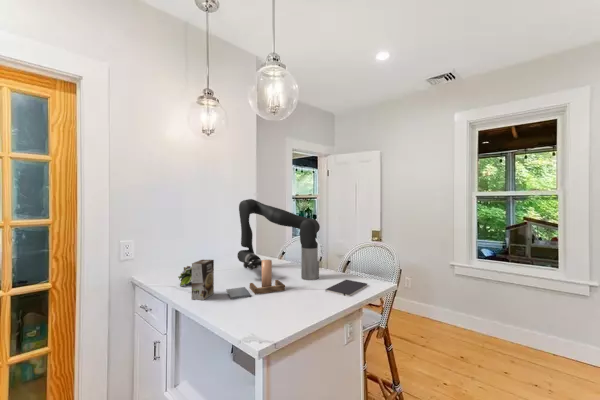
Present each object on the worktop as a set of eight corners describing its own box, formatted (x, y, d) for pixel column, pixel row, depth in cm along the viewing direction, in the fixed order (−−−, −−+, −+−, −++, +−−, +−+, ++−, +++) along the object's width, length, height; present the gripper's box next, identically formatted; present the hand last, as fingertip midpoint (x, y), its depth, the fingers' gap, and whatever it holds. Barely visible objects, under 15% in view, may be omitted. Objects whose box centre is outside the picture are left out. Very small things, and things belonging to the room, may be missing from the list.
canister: (269, 286, 146) (269, 259, 146) (273, 289, 141) (273, 261, 141) (260, 287, 144) (260, 260, 144) (263, 290, 139) (263, 262, 139)
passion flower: (186, 292, 153) (193, 271, 160) (202, 291, 149) (208, 269, 156) (171, 285, 145) (179, 263, 152) (186, 283, 141) (194, 261, 148)
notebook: (346, 282, 156) (325, 292, 139) (346, 279, 156) (325, 289, 139) (368, 286, 148) (349, 297, 131) (368, 283, 148) (349, 294, 131)
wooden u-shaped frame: (277, 284, 150) (277, 279, 150) (285, 290, 140) (285, 285, 140) (249, 288, 144) (249, 283, 144) (255, 294, 134) (255, 289, 134)
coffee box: (204, 300, 126) (204, 263, 126) (190, 299, 128) (190, 263, 127) (214, 293, 135) (214, 259, 135) (201, 292, 136) (201, 258, 136)
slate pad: (244, 288, 142) (244, 286, 142) (250, 296, 131) (250, 294, 131) (226, 291, 139) (226, 289, 139) (230, 299, 128) (230, 297, 128)
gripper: (240, 255, 165) (247, 260, 150) (264, 253, 170) (273, 258, 156) (240, 268, 165) (247, 275, 150) (264, 265, 170) (273, 272, 156)
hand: (260, 266), depth 153 cm, fingers open, 8 cm apart
